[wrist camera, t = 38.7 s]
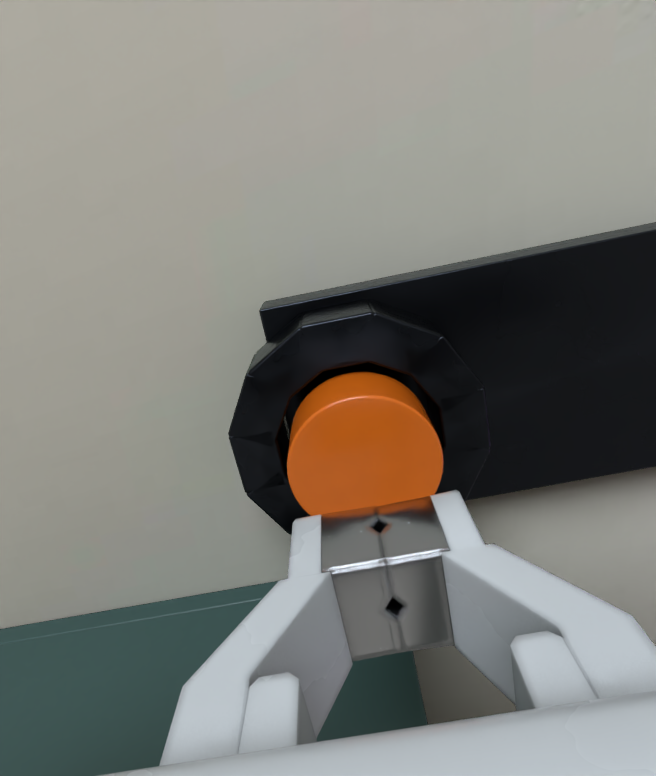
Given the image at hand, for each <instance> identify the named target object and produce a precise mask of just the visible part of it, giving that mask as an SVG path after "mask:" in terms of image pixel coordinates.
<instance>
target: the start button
mask: <svg viewBox="0 0 656 776" xmlns="http://www.w3.org/2000/svg"><path fill="white" fill-rule="evenodd" d="M443 465H444V460H443V451H442V446H441V443H440V440H439V437H438V435H437V433H436V431H435V429H434V427H433V425H432V423H431V421H430V419H429V417H428V415H427V413H426V411H425V409H424V408H423V406H422V404H421V402H420V401H419V399H418V398H417V397H416V395H415V394H414V393H413V392H412V391H411V390H410V389H409V388H408V387H406V386H405V385H404V384H402V383H401V382H399V381H397V380H395V379H393V378H391V377H388V376H386V375H382V374H378V373H373V372H351V373H345V374H342V375H338V376H335V377H333V378H330V379H328V380H326V381H325V382H323V383H321V384H320V385H318V386H317V387H316V388H314V389H313V390H312V391H311V392H310V393H309V394H308V395H307V396H306V397H305V398H304V400H303V401H302V402H301V404H300V406H299V407H298V409H297V411H296V413H295V416H294V418H293V422H292V426H291V434H290V441H289V449H288V457H287V476H288V481H289V484H290V487H291V490H292V492H293V494H294V496H295V498H296V500H297V501H298V503H299V504H300V505H301V507H302V508H303V509H304V510H305V511H306V512H307V513H308V514H309V515H310V516H314V515H319V514H320V515H322V514H327V513H333V512H340V511H346V510H352V509H359V508H365V507H371V506H376V507H377V506H382V505H387V504H392V503H397V502H402V501H407V500H412V499H416V498H421V497H426V496H430V495H434V494H435V493H436V491H437V489H438V487H439V484H440V481H441V478H442V473H443Z"/></svg>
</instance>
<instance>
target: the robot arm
mask: <svg viewBox="0 0 656 776" xmlns="http://www.w3.org/2000/svg"><path fill="white" fill-rule="evenodd" d="M452 645H455V648H456V649H457V650H458V651H459V652H460V653H461V654H463V655H464V656H465V657H466V658H467V659H468V660H469V661H470V662H471V663H472V664H473V665H474V666H475V667H476V668H477V669H478V670H479V671H480V672H481V673H482V674H483V675H484V676H485V677H487V678H488V679H489V680H490V681H491V682H492V683H493V684H494V685H495V686H496V687H497V688H498V689H499V690H500V691H501V692H502V693H503V694H504V695H505V696H506V697H507V698H508V699H510V700H511V701H512V702H513V703H514V704H515V705H516V711H515V712H509V713H502V714H495V715H489V716H482V717H476V718H469V719H463V720H456V721H450V722H443V723H437V724H430V725H424V726H417V727H411V728H404V729H398V730H391V731H385V732H378V733H372V734H365V735H359V736H352V737H346V738H339V739H333V740H326V741H319V742H317V736H318V734H319V732H320V730H321V728H322V726H323V724H324V722H325V720H326V718H327V716H328V714H329V712H330V710H331V708H332V706H333V704H334V702H335V700H336V698H337V696H338V694H339V692H340V690H341V688H342V686H343V684H344V682H345V680H346V678H347V676H348V674H349V672H350V669H351V667H352V665H353V663H352V662H353V661H358V660H363V659H369V658H374V657H379V656H384V655H390V654H395V653H400V652H407V651H414V650H422V649H429V648H437V647H445V646H452ZM402 649H403V650H402ZM97 776H656V646H655V645H654V644H653V642H652V641H651V640H650V638H649V637H648V636H647V634H646V633H645V632H644V630H643V629H642V628H641V627H640V625H639V624H638V623H637V621H636V620H635V619H634V617H633V616H632V615H631V614H629V613H627V612H625V611H623V610H621V609H619V608H617V607H615V606H613V605H611V604H609V603H607V602H606V601H604V600H602V599H600V598H598V597H596V596H594V595H592V594H590V593H588V592H586V591H584V590H582V589H580V588H579V587H577V586H575V585H573V584H571V583H569V582H567V581H565V580H563V579H561V578H559V577H557V576H555V575H553V574H552V573H550V572H548V571H546V570H544V569H542V568H540V567H538V566H536V565H534V564H532V563H530V562H528V561H527V560H525V559H523V558H521V557H519V556H517V555H515V554H513V553H511V552H509V551H507V550H505V549H503V548H501V547H500V546H498V545H496V544H488V545H485V543H484V541H483V539H482V537H481V535H480V533H479V531H478V529H477V527H476V525H475V523H474V520H473V518H472V516H471V514H470V512H469V510H468V508H467V506H466V504H465V502H464V500H463V498H462V496H461V494H460V492H459V491H457V490H453V491H448V492H444V493H439V494H434V495H430V496H426V497H421V498H416V499H412V500H407V501H402V502H397V503H392V504H387V505H382V506H377V507H376V506H371V507H365V508H359V509H352V510H346V511H340V512H333V513H327V514H322V515H320V514H319V515H314V516H309V517H303V518H298V519H295V520H294V522H293V525H292V536H291V546H290V557H289V568H288V579H284V580H279V581H278V582H277V584H276V585H275V586H274V587H273V588H272V589H271V590H270V591H269V592H268V593H267V595H266V596H265V597H264V598H263V599H262V600H261V601H260V602H259V603H258V604H257V605H256V607H255V608H254V609H253V610H252V611H251V612H250V613H249V614H248V615H247V616H246V617H245V619H244V620H243V621H242V622H241V623H240V624H239V625H238V626H237V627H236V628H235V630H234V631H233V632H232V633H231V634H230V635H229V636H228V637H227V638H226V639H225V640H224V642H223V643H222V644H221V645H220V646H219V647H218V648H217V649H216V650H215V651H214V653H213V654H212V655H211V656H210V657H209V658H208V659H207V660H206V661H205V662H204V663H203V665H202V666H201V667H200V668H199V669H198V670H197V671H196V672H195V673H194V674H193V675H192V677H191V678H190V679H189V680H188V681H187V682H186V683H185V684H184V685H183V686H182V690H181V693H180V696H179V700H178V703H177V707H176V710H175V714H174V717H173V720H172V724H171V727H170V731H169V734H168V737H167V741H166V744H165V748H164V751H163V754H162V758H161V761H160V765H159V766H156V767H149V768H143V769H136V770H130V771H123V772H117V773H110V774H104V775H97Z"/></svg>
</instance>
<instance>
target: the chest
mask: <svg viewBox="0 0 656 776" xmlns="http://www.w3.org/2000/svg"><path fill="white" fill-rule="evenodd" d="M277 582H278V581H275V582H270V583H264V584H258V585H252V586H247V587H241V588H235V589H229V590H224V591H218V592H212V593H206V594H200V595H195V596H189V597H183V598H177V599H172V600H166V601H160V602H154V603H149V604H143V605H137V606H131V607H126V608H120V609H114V610H108V611H102V612H97V613H91V614H85V615H79V616H74V617H68V618H62V619H56V620H51V621H45V622H39V623H33V624H27V625H22V626H16V627H10V628H4V629H0V776H97V775H104V774H110V773H117V772H123V771H130V770H136V769H143V768H149V767H156V766H159V765H160V761H161V758H162V754H163V751H164V748H165V744H166V741H167V737H168V734H169V731H170V727H171V724H172V720H173V717H174V714H175V710H176V707H177V703H178V700H179V696H180V693H181V690H182V686H183V685H184V684H185V683H186V682H187V681H188V680H189V679H190V678H191V677H192V675H193V674H194V673H195V672H196V671H197V670H198V669H199V668H200V667H201V666H202V665H203V663H204V662H205V661H206V660H207V659H208V658H209V657H210V656H211V655H212V654H213V653H214V651H215V650H216V649H217V648H218V647H219V646H220V645H221V644H222V643H223V642H224V640H225V639H226V638H227V637H228V636H229V635H230V634H231V633H232V632H233V631H234V630H235V628H236V627H237V626H238V625H239V624H240V623H241V622H242V621H243V620H244V619H245V617H246V616H247V615H248V614H249V613H250V612H251V611H252V610H253V609H254V608H255V607H256V605H257V604H258V603H259V602H260V601H261V600H262V599H263V598H264V597H265V596H266V595H267V593H268V592H269V591H270V590H271V589H272V588H273V587H274V586H275V585H276V584H277ZM402 650H403V649H402ZM352 663H353V665H352V667H351V669H350V672H349V674H348V676H347V678H346V680H345V682H344V684H343V686H342V688H341V690H340V692H339V694H338V696H337V698H336V700H335V702H334V704H333V706H332V708H331V710H330V712H329V714H328V716H327V718H326V720H325V722H324V724H323V726H322V728H321V730H320V732H319V734H318V736H317V742H319V741H326V740H333V739H339V738H346V737H352V736H359V735H365V734H372V733H378V732H385V731H391V730H398V729H404V728H411V727H417V726H424V725H428V723H427V718H426V713H425V709H424V704H423V699H422V694H421V689H420V684H419V680H418V675H417V670H416V665H415V660H414V655H413V651H407V652H400V653H395V654H390V655H384V656H379V657H374V658H369V659H363V660H358V661H353V662H352Z"/></svg>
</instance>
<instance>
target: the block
mask: <svg viewBox="0 0 656 776" xmlns="http://www.w3.org/2000/svg"><path fill="white" fill-rule="evenodd" d="M259 312H260V316H261V320H262V324H263V328H264V332H265V336H266V340H267V343H266V344H265V345H264V346H263V347H262V348H261V349H259V350H258V351H257V353H256V354H255V355H254V357H253V359H252V362H251V364H250V366H249V369H248V371H247V373H246V376H245V379H244V383H243V386H242V389H241V393H240V396H239V399H238V403H237V406H236V409H235V413H234V416H233V419H232V423H231V426H230V430H229V433H228V434H229V440H230V443H231V446H232V450H233V453H234V456H235V460H236V463H237V467H238V470H239V473H240V477H241V480H242V484H243V487H244V490H245V492H246V493H247V495H248V497H249V498H250V499H252V500H253V501H254V502H255V503H256V504H257V505H258V506H259V507H260V508H261V509H262V510H264V511H265V512H266V513H267V514H268V515H269V516H270V517H271V518H272V519H273V520H274V521H275V522H277V523H278V524H279V525H280V526H281V527H282V528H283V529H284V530H285V531H286V532H287V533H289V534H291V535H292V525H293V522H294V520H295V519H298V518H303V517H309V516H310V515H309V514H308V513H307V512H306V511H305V510H304V509H303V508H302V507H301V505H300V504H299V503H298V501H297V500H296V498H295V496H294V494H293V492H292V490H291V487H290V484H289V481H288V476H287V457H288V449H289V439H288V435H287V431H286V427H285V423H284V416H285V417H286V421H287V425H288V429H289V433H290V434H291V426H292V422H293V418H294V416H295V413H296V411H297V409H298V407H299V406H300V404H301V402H302V401H303V400H304V398H305V397H306V396H307V395H308V394H309V393H310V392H311V391H312V390H313V389H314V388H316V387H317V386H318V385H320V384H321V383H323V382H325V381H326V380H328V379H330V378H333V377H335V376H338V375H342V374H345V373H351V372H373V373H378V374H382V375H386V376H388V377H391V378H393V379H395V380H397V381H399V382H401V383H402V384H404V385H405V386H406V387H408V388H409V389H410V390H411V391H412V392H413V393H414V394H415V395H416V397H417V398H418V399H419V401H420V402H421V404H422V406H423V408H424V409H425V411H426V413H427V415H428V417H429V419H430V421H431V423H432V425H433V427H434V429H435V431H436V433H437V435H438V437H439V440H440V443H441V446H442V451H443V460H444V465H443V473H442V478H441V481H440V484H439V487H438V489H437V491H436V493H435V494H439V493H444V492H448V491H453V490H457V491H459V492H460V494H461V496H462V498H463V500H464V502H465V501H466V500H471V499H476V498H482V497H487V496H493V495H499V494H504V493H510V492H515V491H521V490H527V489H532V488H538V487H543V486H549V485H555V484H560V483H566V482H571V481H577V480H583V479H588V478H594V477H599V476H605V475H611V474H616V473H622V472H627V471H633V470H639V469H644V468H650V467H655V466H656V222H654V223H649V224H644V225H640V226H635V227H630V228H625V229H620V230H615V231H610V232H605V233H600V234H595V235H590V236H586V237H581V238H576V239H571V240H566V241H561V242H556V243H551V244H546V245H541V246H536V247H532V248H527V249H522V250H517V251H512V252H507V253H502V254H497V255H492V256H487V257H483V258H478V259H473V260H468V261H463V262H458V263H453V264H448V265H443V266H438V267H433V268H429V269H424V270H419V271H414V272H409V273H404V274H399V275H394V276H389V277H384V278H379V279H375V280H370V281H365V282H360V283H355V284H350V285H345V286H340V287H335V288H330V289H325V290H321V291H316V292H311V293H306V294H301V295H296V296H291V297H286V298H281V299H276V300H271V301H267V302H264V303H263V305H262V307H261V308H260V310H259Z"/></svg>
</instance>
